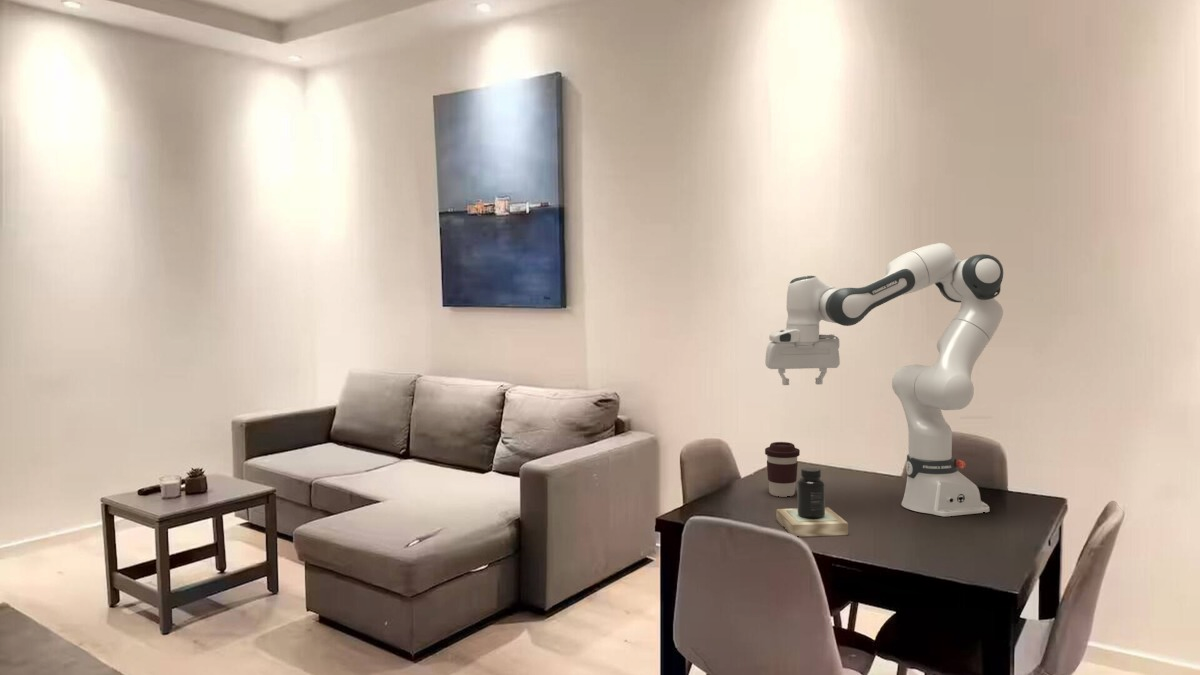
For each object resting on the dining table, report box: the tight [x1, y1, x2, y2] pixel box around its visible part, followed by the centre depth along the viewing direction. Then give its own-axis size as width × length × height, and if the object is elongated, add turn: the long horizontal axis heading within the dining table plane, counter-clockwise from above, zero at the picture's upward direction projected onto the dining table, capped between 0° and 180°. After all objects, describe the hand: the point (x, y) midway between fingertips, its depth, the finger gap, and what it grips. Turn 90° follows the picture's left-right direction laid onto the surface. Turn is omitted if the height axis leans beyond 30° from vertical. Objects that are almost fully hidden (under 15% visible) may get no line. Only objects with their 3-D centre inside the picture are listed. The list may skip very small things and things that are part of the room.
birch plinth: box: [775, 506, 849, 538], centre depth 211 cm, size 14×14×3 cm
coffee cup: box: [764, 441, 800, 498], centre depth 243 cm, size 10×10×15 cm
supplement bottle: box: [796, 467, 826, 519], centre depth 210 cm, size 7×7×12 cm
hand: (802, 384), depth 229 cm, fingers open, 8 cm apart
